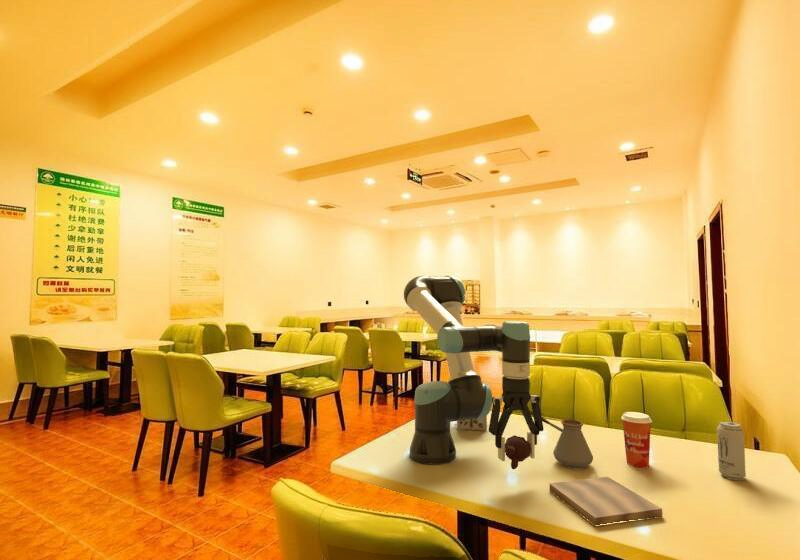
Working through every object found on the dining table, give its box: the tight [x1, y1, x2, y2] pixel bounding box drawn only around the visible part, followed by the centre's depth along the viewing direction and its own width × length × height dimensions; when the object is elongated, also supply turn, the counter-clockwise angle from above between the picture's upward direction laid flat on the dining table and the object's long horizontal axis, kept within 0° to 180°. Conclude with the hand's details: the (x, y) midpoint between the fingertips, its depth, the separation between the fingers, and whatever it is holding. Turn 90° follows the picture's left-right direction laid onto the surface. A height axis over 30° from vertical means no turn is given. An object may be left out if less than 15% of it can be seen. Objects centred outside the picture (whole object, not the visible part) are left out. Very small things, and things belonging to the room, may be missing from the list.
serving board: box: [549, 476, 663, 526], centre depth 103 cm, size 18×18×2 cm
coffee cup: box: [621, 411, 653, 469], centre depth 128 cm, size 8×8×15 cm
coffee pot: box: [521, 410, 594, 470], centre depth 131 cm, size 21×12×15 cm, turn 54°
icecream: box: [505, 435, 531, 470], centre depth 115 cm, size 7×7×15 cm
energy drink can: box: [716, 420, 747, 481], centre depth 119 cm, size 6×6×15 cm
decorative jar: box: [456, 415, 488, 432], centre depth 167 cm, size 12×12×18 cm
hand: (516, 457), depth 115 cm, fingers closed on icecream, 8 cm apart
